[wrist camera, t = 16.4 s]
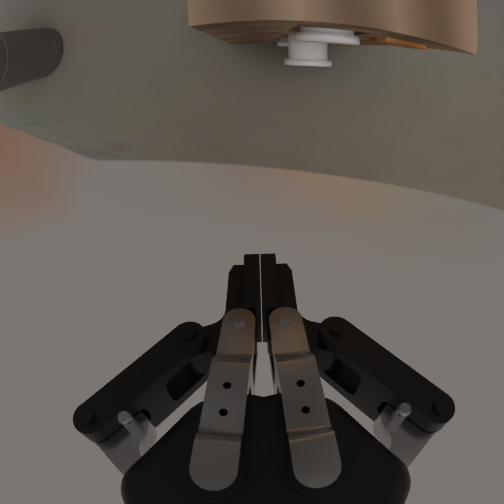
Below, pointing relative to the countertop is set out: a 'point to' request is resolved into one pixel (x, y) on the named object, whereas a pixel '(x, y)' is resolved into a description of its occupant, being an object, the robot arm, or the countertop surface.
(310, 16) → the button panel
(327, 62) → the middle button
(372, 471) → the robot arm
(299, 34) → the top button
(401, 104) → the countertop surface
